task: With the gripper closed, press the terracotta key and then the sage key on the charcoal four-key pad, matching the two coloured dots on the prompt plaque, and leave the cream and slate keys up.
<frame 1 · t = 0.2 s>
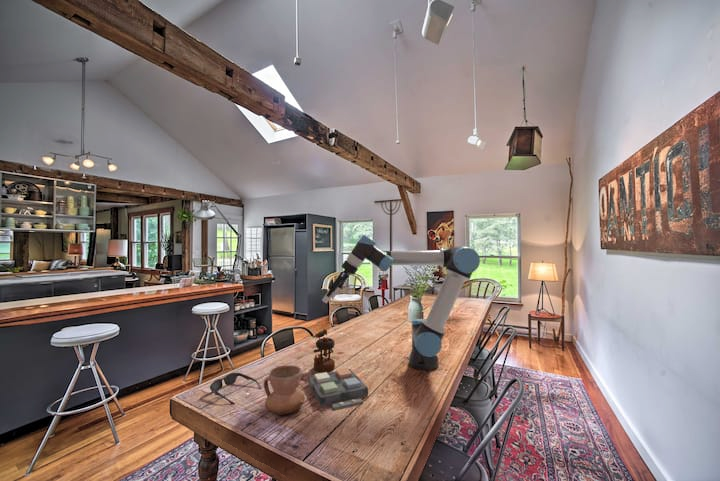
hand: (327, 299, 146), 35 cm above the table, tool tilted 35°, fingers open, 13 cm apart
prompt plaque: (347, 404, 116), on the table
keypad: (336, 390, 127), on the table
slate key: (352, 383, 125), point 4 cm above the table, slide at 0.0 cm
music box: (325, 368, 150), on the table
ceramic jug: (283, 408, 114), on the table
terracotta key: (343, 374, 134), point 4 cm above the table, slide at 0.0 cm
cream key: (322, 378, 130), point 4 cm above the table, slide at 0.0 cm
sunglasses: (235, 393, 126), on the table
sage key: (329, 388, 121), point 4 cm above the table, slide at 0.0 cm
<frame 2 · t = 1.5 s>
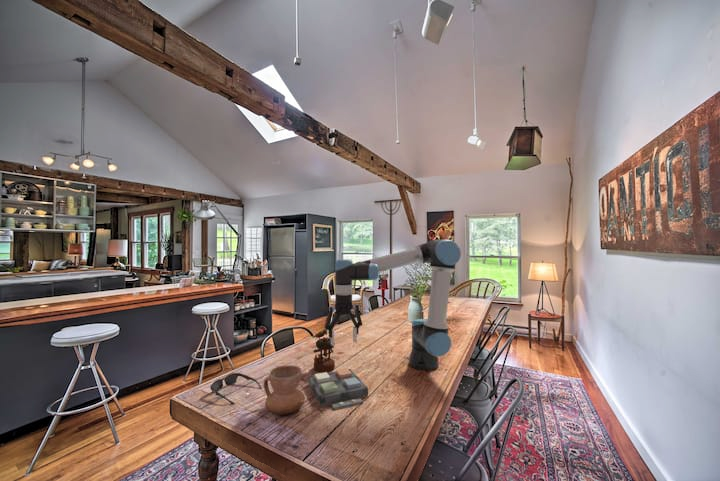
hand: (343, 343, 134), 18 cm above the table, tool pointing down, fingers open, 10 cm apart
nothing on the table moved.
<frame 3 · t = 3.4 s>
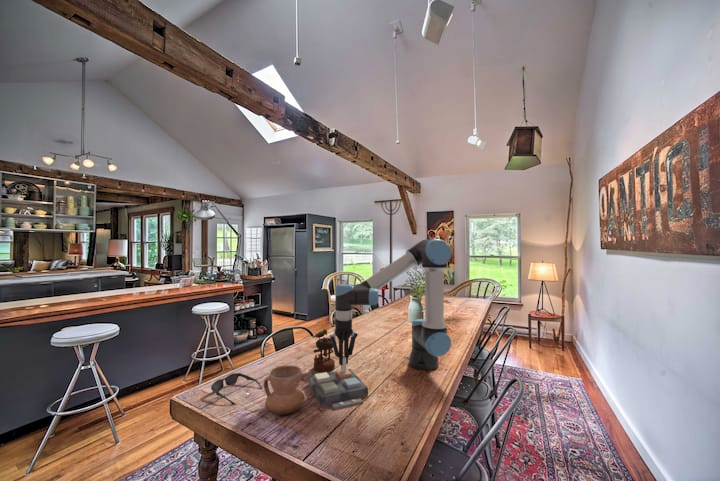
hand: (343, 371, 134), 5 cm above the table, tool pointing down, fingers closed
terracotta key: (343, 374, 134), point 4 cm above the table, slide at 0.1 cm, touching gripper
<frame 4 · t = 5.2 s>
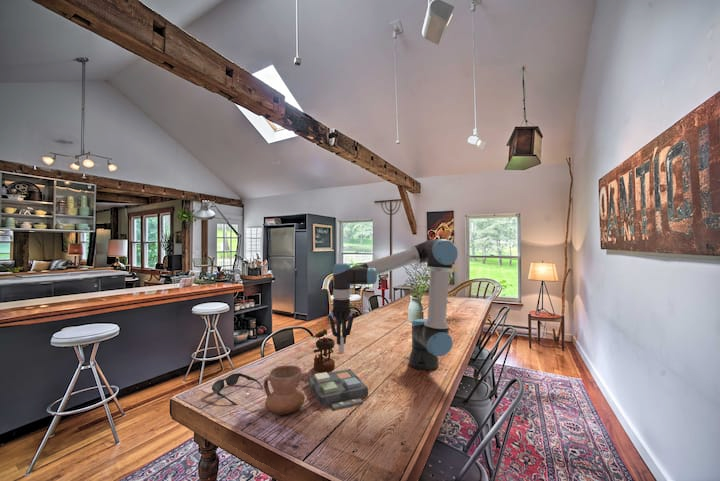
hand: (341, 351, 132), 15 cm above the table, tool pointing down, fingers closed
terracotta key: (343, 377, 134), point 2 cm above the table, slide at 1.6 cm
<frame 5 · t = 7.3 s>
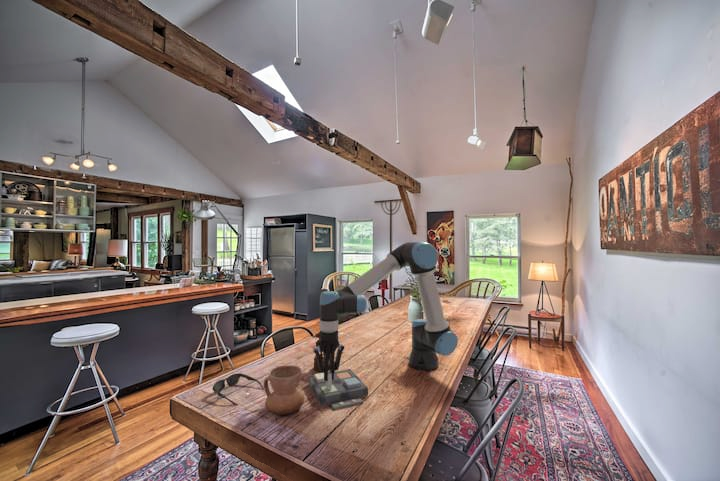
hand: (328, 388, 121), 4 cm above the table, tool pointing down, fingers closed
sage key: (329, 391, 121), point 3 cm above the table, slide at 1.3 cm, touching gripper
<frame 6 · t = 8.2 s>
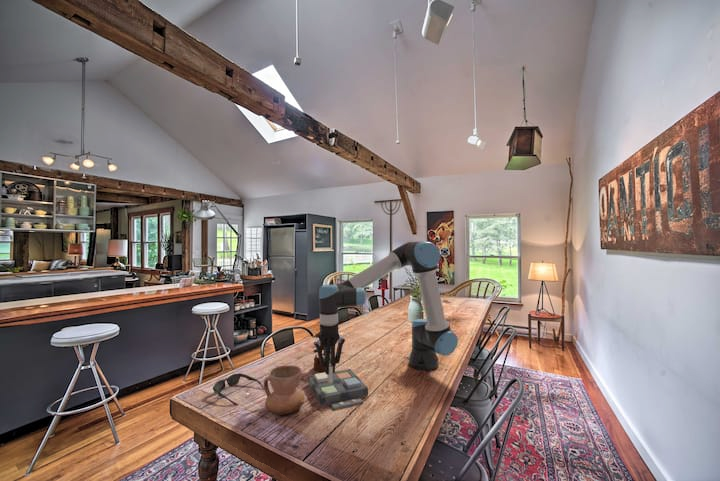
hand: (330, 381, 121), 7 cm above the table, tool pointing down, fingers closed
sage key: (329, 392, 121), point 2 cm above the table, slide at 1.6 cm
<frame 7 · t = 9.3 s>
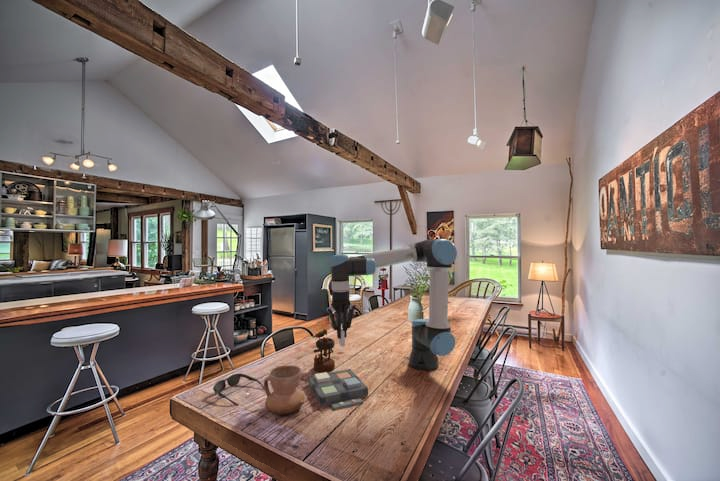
hand: (342, 345, 128), 19 cm above the table, tool pointing down, fingers closed
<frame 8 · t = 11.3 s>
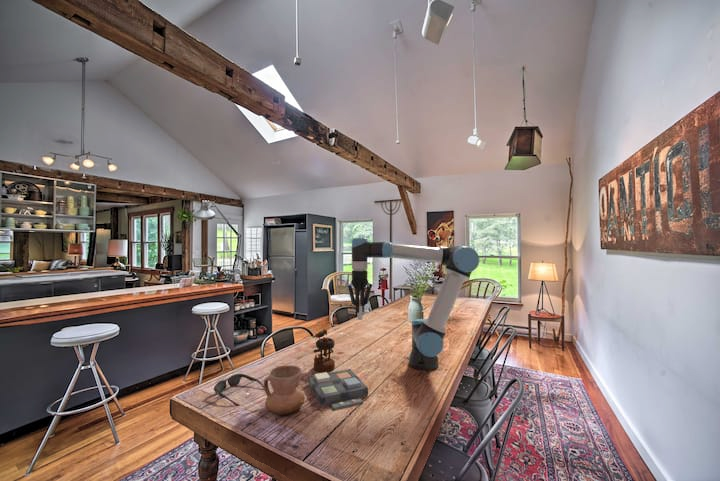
hand: (359, 319, 143), 26 cm above the table, tool pointing down, fingers closed
at the end: terracotta key slide at 1.6 cm; sage key slide at 1.6 cm; cream key slide at 0.0 cm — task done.
